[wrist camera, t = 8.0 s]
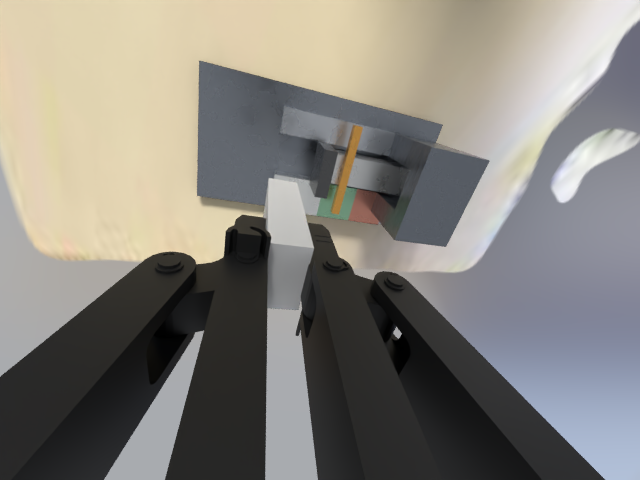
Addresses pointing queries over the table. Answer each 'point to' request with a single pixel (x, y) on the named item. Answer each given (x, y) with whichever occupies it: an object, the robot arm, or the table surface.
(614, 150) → the table surface
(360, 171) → the orange-striped grey block
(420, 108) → the table surface
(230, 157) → the gauge base
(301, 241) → the robot arm
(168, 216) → the table surface
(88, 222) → the table surface
